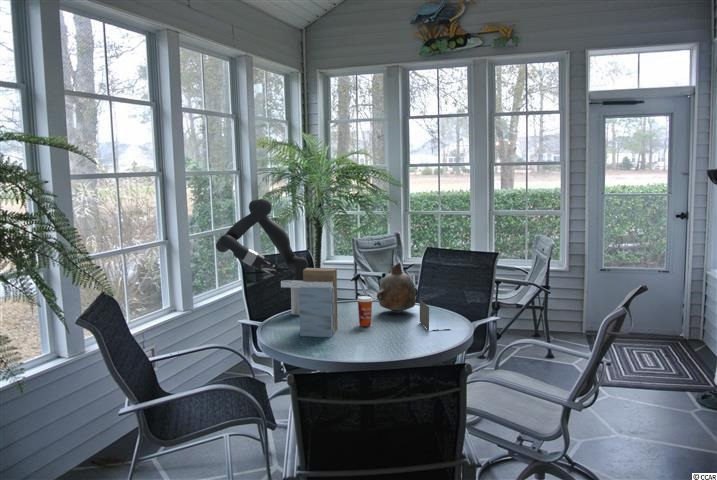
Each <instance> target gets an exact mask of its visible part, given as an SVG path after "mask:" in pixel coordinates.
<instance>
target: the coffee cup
mask: <svg viewBox="0 0 717 480" xmlns="http://www.w3.org/2000/svg"><path fill="white" fill-rule="evenodd" d="M356 301H357V306H358V307H357V308H358V309H357V311H358V321H359V322H358V323H359V324H358V325H359V327H364V326H367V327H371V324H372V310H373V309H372V308H373V298H372V297H371V296H366V295H365V296H362V295H361V296H359V297H358V298H357V299H356Z"/></svg>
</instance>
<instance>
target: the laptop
mask: <svg viewBox="0 0 717 480" xmlns="http://www.w3.org/2000/svg"><path fill="white" fill-rule="evenodd" d="M420 322H421V323H422V324H423V325H424V326H425V327H426V328H427V329H428V330H429V322H430V306H428V305H427V304H426V303H424V302H423V301H422V300H421V299H419V323H420ZM421 323H420V324H421ZM422 324H421V325H422ZM423 325H422V326H423ZM424 326H423V327H424ZM425 327H424V328H425ZM426 328H425V329H426ZM427 329H426V330H427ZM428 330H427V331H428Z"/></svg>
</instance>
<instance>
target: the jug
mask: <svg viewBox="0 0 717 480" xmlns="http://www.w3.org/2000/svg"><path fill="white" fill-rule="evenodd" d="M391 269H392V270H389V271H388V274H386V275H385V276H384V277H383V279H382V280H381V282H380V285H379V289H378V292H377V294H376V298H377V301H378V303H379V306H380V307H381V308H384V309H387V310H389V311H392V312H393V313H396V314H400V313H402V312H404V311H407V310H409V309H412V308H413V307H415V306H416V302H417V301H416V299H417V296H418V288H416V286H415V284H414V282H413V280H412V278H411V276H409V275H408V274H407V273H405V272H403V269H402V266H401V262H397V263H396V264H395V265H393V266H392V268H391ZM399 312H400V313H399Z"/></svg>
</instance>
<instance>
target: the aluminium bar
mask: <svg viewBox="0 0 717 480" xmlns="http://www.w3.org/2000/svg"><path fill="white" fill-rule="evenodd" d="M280 288H289V289H291V288H327V289H332V288H333V281H296V280H292V279H291V280H290V279H286V280H285V279H283V280H281V281H280Z"/></svg>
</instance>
